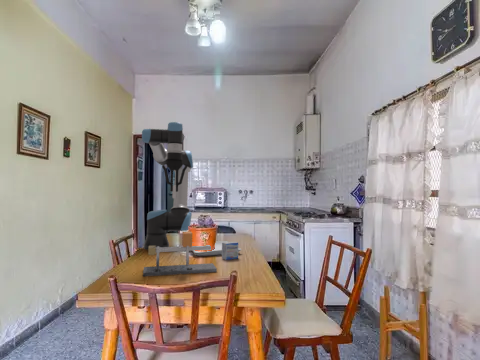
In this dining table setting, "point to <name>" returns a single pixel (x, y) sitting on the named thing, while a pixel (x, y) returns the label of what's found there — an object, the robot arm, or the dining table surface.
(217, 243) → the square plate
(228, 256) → the medicine box
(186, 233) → the post
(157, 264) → the frame
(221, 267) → the dining table surface
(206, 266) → the bolt plate
